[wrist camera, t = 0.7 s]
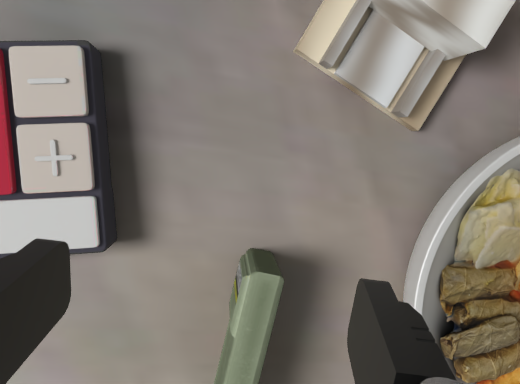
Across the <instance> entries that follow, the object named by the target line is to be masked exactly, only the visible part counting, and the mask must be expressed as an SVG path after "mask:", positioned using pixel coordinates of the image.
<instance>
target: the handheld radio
mask: <svg viewBox="0 0 520 384" xmlns="http://www.w3.org/2000/svg"><path fill="white" fill-rule="evenodd" d="M283 284H284V279H283V277H282V275H281V272H280V270H279V267H278V265H277V263H276V260H275V258H274V256H273V254H272V253H271V252H270V251H265V250H259V249H254V248H250V249H249V250H248V251H247V252H246V254H245V255H243V256H242V257H241V259H240V261H239V266H238V270H237V274H236V278H235V282H234V286H233V290H232V294H231V298H230V302H229V311H230V320H229V324H228V328H227V332H226V336H225V340H224V345H223V349H222V353H221V357H220V361H219V365H218V369H217V373H216V377H215V381H214V384H259V380H260V376H261V372H262V368H263V364H264V360H265V356H266V352H267V348H268V344H269V340H270V336H271V332H272V328H273V324H274V320H275V316H276V312H277V308H278V304H279V300H280V296H281V292H282V288H283Z"/></svg>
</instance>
